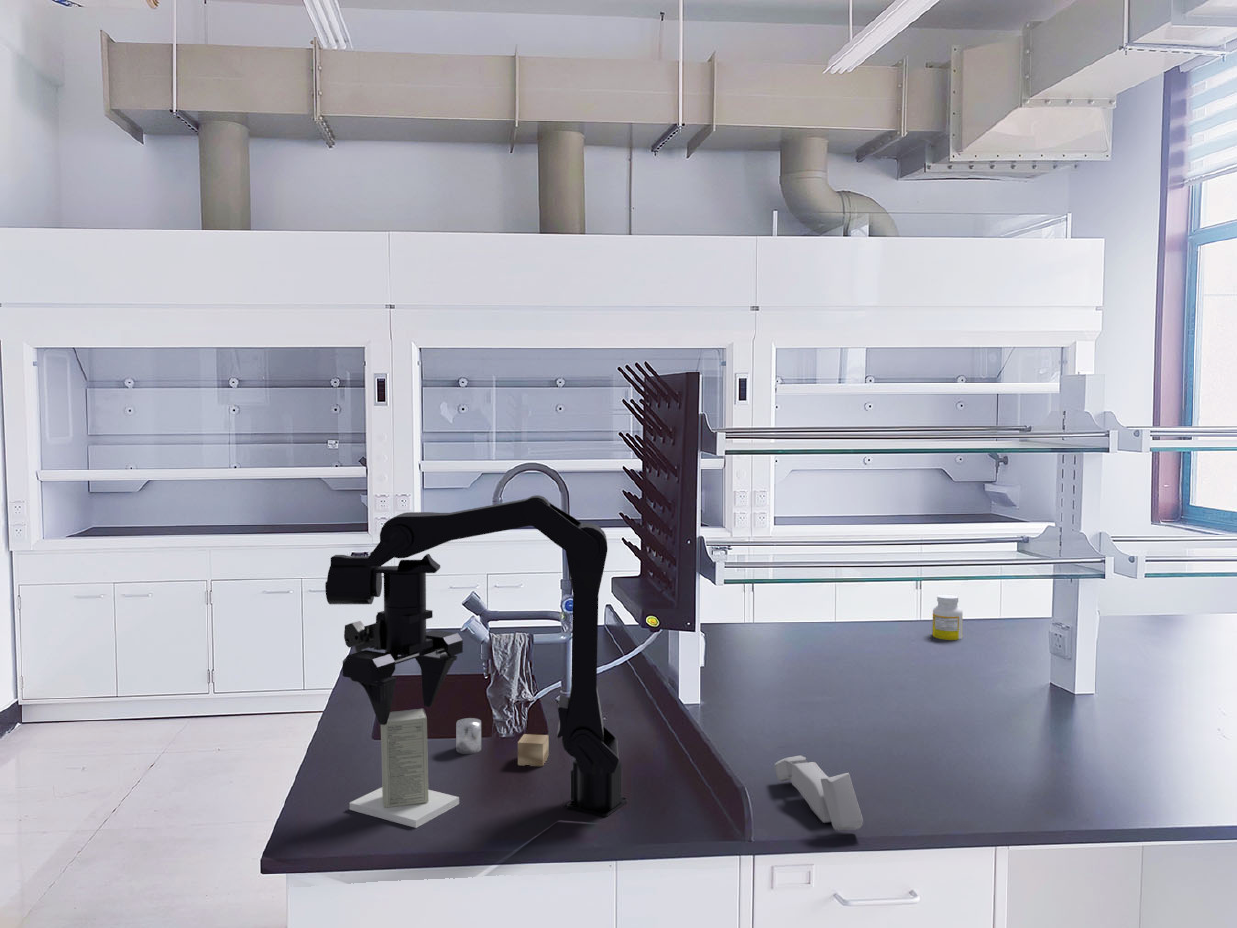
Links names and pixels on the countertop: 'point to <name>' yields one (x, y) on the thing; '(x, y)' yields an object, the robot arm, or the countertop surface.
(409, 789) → the skincare box
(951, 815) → the countertop surface
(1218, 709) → the countertop surface
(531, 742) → the oak block
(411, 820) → the grey mat
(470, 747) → the metal cylinder
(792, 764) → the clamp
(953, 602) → the supplement bottle
